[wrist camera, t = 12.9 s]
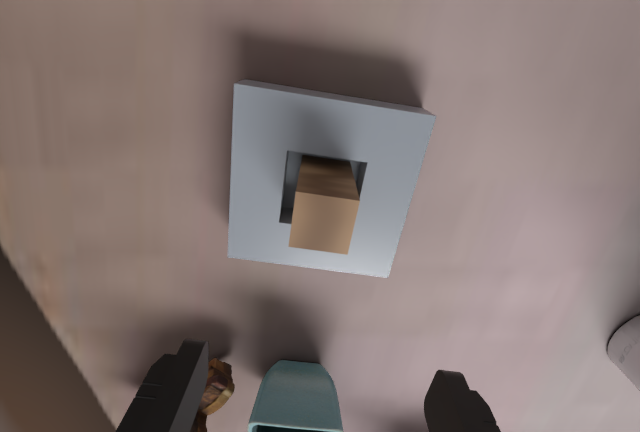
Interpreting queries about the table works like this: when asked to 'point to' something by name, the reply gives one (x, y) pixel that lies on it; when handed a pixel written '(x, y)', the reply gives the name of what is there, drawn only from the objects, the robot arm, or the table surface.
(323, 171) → the wooden block
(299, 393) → the flower pot
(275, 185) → the holder
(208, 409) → the wooden carving
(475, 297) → the table surface
